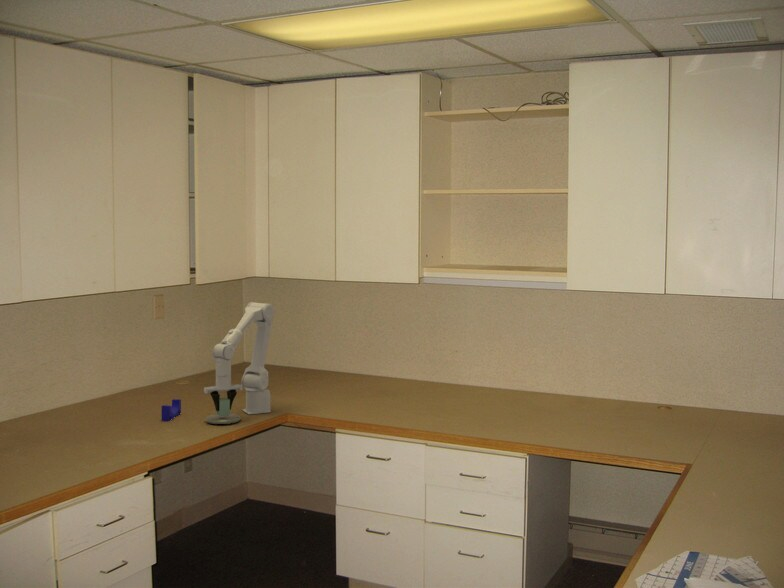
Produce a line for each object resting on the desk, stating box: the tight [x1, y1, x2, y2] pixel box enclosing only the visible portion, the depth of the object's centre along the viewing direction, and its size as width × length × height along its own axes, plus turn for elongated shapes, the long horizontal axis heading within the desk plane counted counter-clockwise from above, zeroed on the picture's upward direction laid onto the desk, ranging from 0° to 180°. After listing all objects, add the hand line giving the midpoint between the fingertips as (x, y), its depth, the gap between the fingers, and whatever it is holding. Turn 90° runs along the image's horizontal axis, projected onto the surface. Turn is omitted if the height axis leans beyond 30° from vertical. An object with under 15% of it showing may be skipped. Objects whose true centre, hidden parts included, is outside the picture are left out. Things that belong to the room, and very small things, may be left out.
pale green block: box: [215, 397, 231, 416], centre depth 306 cm, size 4×4×6 cm
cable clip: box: [161, 398, 182, 422], centre depth 311 cm, size 12×4×6 cm, turn 173°
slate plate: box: [205, 413, 241, 425], centre depth 306 cm, size 13×13×2 cm
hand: (223, 410), depth 306 cm, fingers closed on pale green block, 4 cm apart
